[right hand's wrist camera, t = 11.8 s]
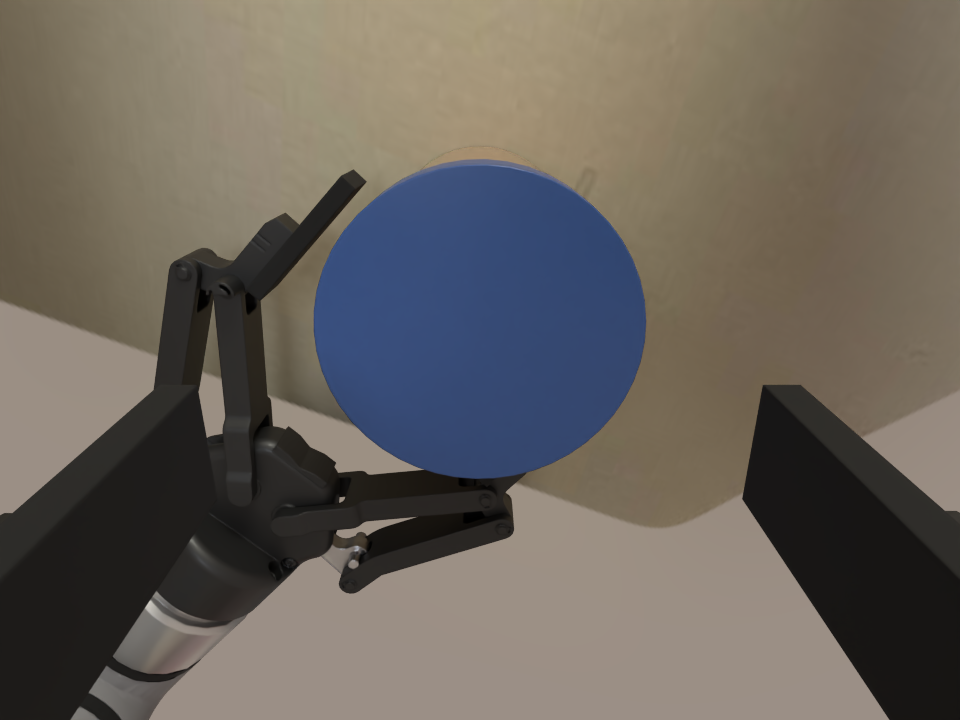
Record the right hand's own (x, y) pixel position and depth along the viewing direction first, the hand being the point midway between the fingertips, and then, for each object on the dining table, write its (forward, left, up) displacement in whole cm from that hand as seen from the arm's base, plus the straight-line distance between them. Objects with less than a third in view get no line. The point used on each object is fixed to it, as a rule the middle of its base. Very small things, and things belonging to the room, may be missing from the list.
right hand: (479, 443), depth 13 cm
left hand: (+1, -1, -16) cm, 16 cm away
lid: (0, 0, -7) cm, 7 cm away
